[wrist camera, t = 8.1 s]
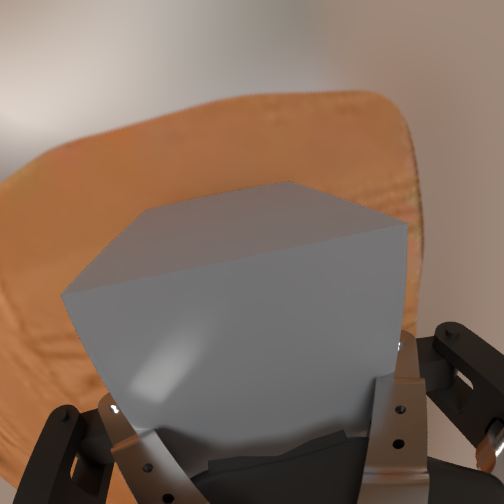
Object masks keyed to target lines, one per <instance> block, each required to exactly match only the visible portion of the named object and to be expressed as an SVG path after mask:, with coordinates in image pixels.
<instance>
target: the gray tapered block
mask: <svg viewBox="0 0 504 504" xmlns="http://www.w3.org/2000/svg"><path fill="white" fill-rule="evenodd" d="M407 236H408V223H407V222H404V221H402V220H399V219H397V218H394V217H391V216H389V215H386V214H384V213H381V212H378V211H376V210H373V209H370V208H368V207H365V206H362V205H359V204H357V203H354V202H351V201H348V200H345V199H342V198H340V197H337V196H334V195H331V194H328V193H325V192H322V191H319V190H316V189H313V188H309V187H306V186H303V185H300V184H297V183H294V182H290V181H287V182H281V183H275V184H269V185H263V186H258V187H252V188H247V189H241V190H236V191H231V192H226V193H220V194H215V195H211V196H206V197H201V198H196V199H191V200H187V201H182V202H178V203H173V204H169V205H165V206H160V207H156V208H152V209H148V210H145V211H144V212H143V213H142V214H141V215H139V216H138V217H137V218H136V219H135V220H134V221H133V222H132V223H131V224H130V225H129V226H128V227H126V228H125V229H124V230H123V231H122V232H121V233H120V234H119V235H118V236H117V237H116V238H115V239H114V240H113V241H112V242H111V243H110V244H109V245H108V246H107V247H106V248H105V249H104V250H103V251H102V252H101V253H100V254H99V255H98V256H97V257H96V258H95V259H94V260H93V261H92V262H91V263H90V264H89V265H88V266H87V267H86V268H85V269H84V270H83V271H82V272H81V273H80V274H79V275H78V276H77V277H76V279H75V280H74V281H73V282H72V283H71V284H70V285H69V286H68V287H67V288H66V289H65V291H64V292H63V293H62V294H61V298H62V300H63V302H64V305H65V307H66V310H67V312H68V314H69V316H70V319H71V321H72V323H73V325H74V327H75V329H76V332H77V334H78V336H79V338H80V340H81V342H82V344H83V346H84V348H85V350H86V352H87V354H88V355H89V357H90V359H91V361H92V363H93V365H94V367H95V368H96V370H97V372H98V374H99V375H100V377H101V379H102V381H103V382H104V384H105V386H106V387H107V389H108V391H109V392H110V394H111V396H112V397H113V399H114V400H115V402H116V403H117V405H118V407H119V408H120V410H121V411H122V413H123V414H124V416H125V417H126V418H127V420H128V421H129V423H130V424H131V426H132V427H133V428H134V430H147V429H152V428H153V429H154V431H155V432H156V434H157V435H158V436H159V438H160V439H161V441H162V442H163V444H164V445H165V447H166V448H167V449H168V451H169V452H170V453H171V455H172V456H173V458H174V459H175V460H176V462H177V463H178V464H179V465H180V467H181V468H182V469H183V471H184V472H185V473H186V474H187V476H188V477H189V478H191V477H193V476H195V475H196V474H199V473H201V472H203V471H206V470H208V462H207V461H209V460H217V459H224V458H231V457H237V456H278V455H281V454H284V453H286V452H288V451H290V450H292V449H294V448H296V447H298V446H300V445H302V444H304V443H306V442H308V441H309V440H312V439H315V438H318V437H322V436H325V435H328V434H331V433H334V432H337V431H340V430H344V432H345V434H346V436H347V437H365V435H366V430H367V425H368V421H369V417H370V412H371V406H372V401H373V394H374V387H375V380H376V378H379V377H382V376H384V375H387V374H389V373H392V372H394V371H395V366H396V361H397V355H398V348H399V342H400V334H401V327H402V318H403V309H404V299H405V286H406V270H407Z"/></svg>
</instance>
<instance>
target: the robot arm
mask: <svg viewBox="0 0 504 504" xmlns="http://www.w3.org/2000/svg"><path fill="white" fill-rule="evenodd" d="M458 370H459V371H460V372H461V373H462V374H463V375H464V376H466V377H467V378H468V379H469V380H470V381H471V383H472V385H473V389H472V388H471V387H470V386H468V385H467V384H466V383H465V382H464V381H463V380H462V379H461V378H459V376H458V375H457V373H458ZM426 395H427V396H428V397H429V398H430V399H431V400H432V401H433V402H434V403H435V404H436V405H437V406H438V407H439V409H440V410H441V411H442V412H443V413H444V414H445V415H446V416H447V417H448V418H449V419H450V421H451V422H452V423H453V424H454V425H455V426H456V427H457V428H458V429H459V430H460V432H461V433H462V434H463V435H464V436H465V437H466V438H467V439H468V440H469V442H470V443H471V444H472V445H473V446H474V447H475V448H476V460H477V464H476V465H477V468H478V470H475V469H471V468H467V467H463V466H459V465H456V464H452V463H449V462H445V461H442V460H438V459H435V458H432V457H429V456H427V438H428V437H427V401H426ZM75 456H76V457H77V458H78V460H77V463H76V466H75V470H74V473H73V476H72V479H71V476H70V471H71V467H72V464H73V461H74V458H75ZM114 462H116V463H117V465H118V468H119V470H120V472H121V474H122V476H123V478H124V479H125V481H126V483H127V485H128V487H129V489H130V491H131V492H132V494H133V496H134V498H135V500H136V501H137V503H138V504H504V355H503V354H502V353H500V352H499V351H497V350H496V349H495V348H494V347H492V346H491V345H490V344H488V343H487V342H486V341H484V340H483V339H481V338H480V337H479V336H477V335H476V334H475V333H473V332H472V331H471V330H469V329H468V328H466V327H465V326H464V325H462V324H459V323H456V322H445V323H442V324H440V325H438V326H437V328H436V330H435V335H434V336H431V337H425V338H415V337H414V335H413V334H411V333H410V332H408V331H405V330H401V334H400V342H399V348H398V355H397V361H396V366H395V371H394V372H392V373H389V374H387V375H384V376H382V377H379V378H376V380H375V387H374V394H373V401H372V406H371V412H370V417H369V421H368V425H367V430H366V435H365V437H347V436H346V434H345V432H344V430H340V431H337V432H334V433H331V434H328V435H325V436H322V437H318V438H315V439H312V440H309V441H308V442H306V443H304V444H302V445H300V446H298V447H296V448H294V449H292V450H290V451H288V452H286V453H284V454H281V455H278V456H237V457H231V458H224V459H217V460H209V461H207V462H208V470H206V471H203V472H201V473H199V474H196V475H195V476H193V477H191V478H189V477H188V476H187V474H186V473H185V472H184V471H183V469H182V468H181V467H180V465H179V464H178V463H177V462H176V460H175V459H174V458H173V456H172V455H171V453H170V452H169V451H168V449H167V448H166V447H165V445H164V444H163V442H162V441H161V439H160V438H159V436H158V435H157V434H156V432H155V431H154V429H153V428H152V429H147V430H134V428H133V427H132V426H131V424H130V423H129V421H128V420H127V418H126V417H125V416H124V414H123V413H122V411H121V410H120V408H119V407H118V405H117V403H116V402H115V400H114V399H113V397H112V396H111V394H110V392H109V393H107V394H106V395H104V396H103V397H102V398H101V400H100V401H99V404H98V408H97V409H94V410H91V411H87V412H84V413H80V412H79V411H78V410H77V408H76V407H74V406H73V405H62V406H60V407H58V408H56V409H55V410H53V411H52V413H51V414H50V415H49V417H48V419H47V421H46V424H45V426H44V428H43V430H42V432H41V434H40V436H39V439H38V441H37V443H36V445H35V447H34V450H33V452H32V454H31V457H30V459H29V461H28V464H27V466H26V469H25V471H24V474H23V476H22V479H21V482H20V484H19V487H18V490H17V493H16V495H15V498H14V501H13V504H105V503H106V498H107V493H108V489H109V484H110V480H111V475H112V471H113V466H114Z"/></svg>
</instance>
